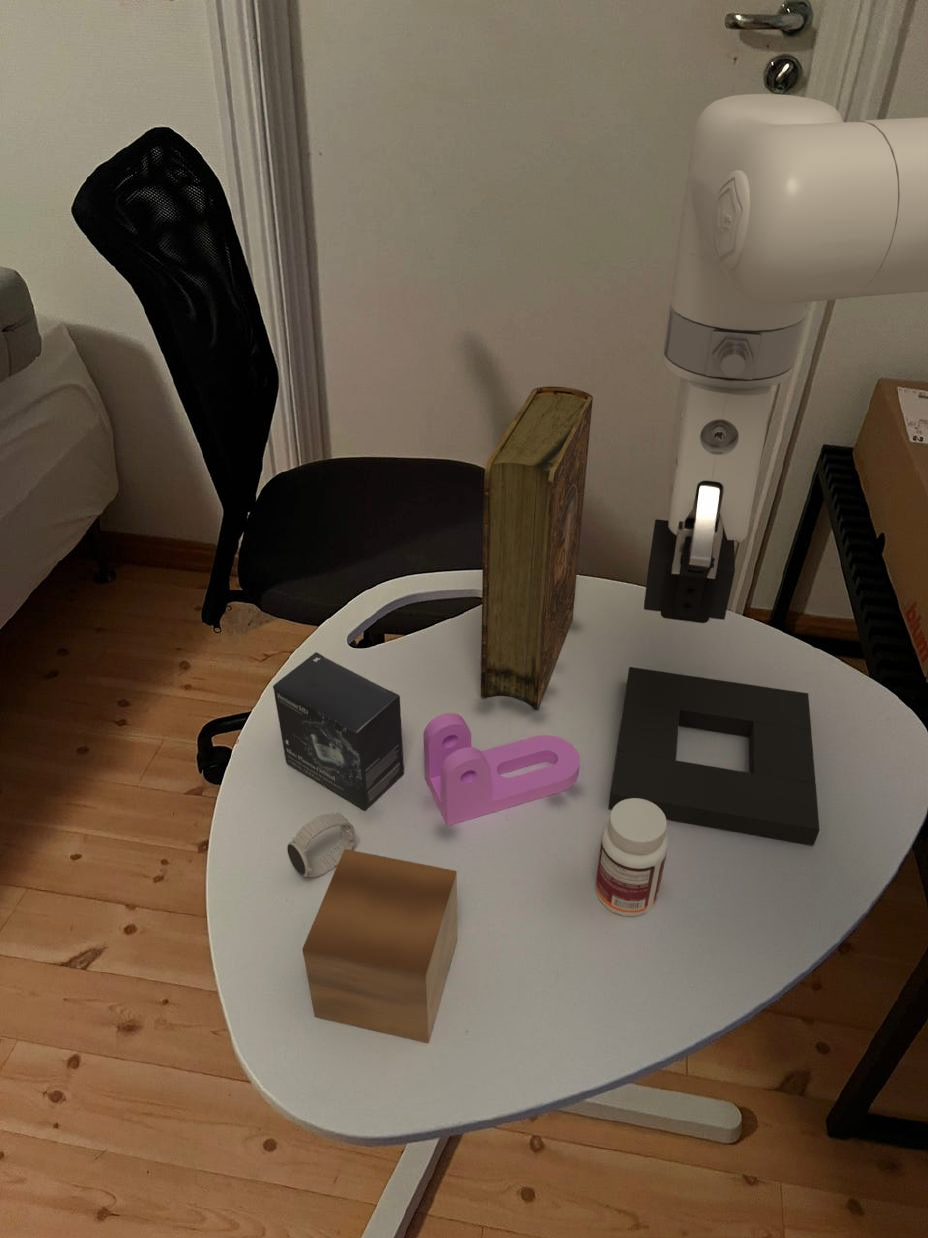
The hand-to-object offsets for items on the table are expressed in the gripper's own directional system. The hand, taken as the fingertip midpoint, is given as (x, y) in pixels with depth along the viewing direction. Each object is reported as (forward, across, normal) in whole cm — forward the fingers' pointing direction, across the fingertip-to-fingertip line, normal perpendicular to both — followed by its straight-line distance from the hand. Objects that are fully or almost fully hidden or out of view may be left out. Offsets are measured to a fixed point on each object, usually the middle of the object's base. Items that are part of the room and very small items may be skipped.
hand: (685, 589), depth 65 cm
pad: (0, 0, 0) cm, 0 cm away
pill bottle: (+22, -10, +1) cm, 24 cm away
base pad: (+22, +6, -5) cm, 23 cm away
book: (+22, +16, +13) cm, 30 cm away
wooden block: (+22, -20, +17) cm, 34 cm away
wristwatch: (+22, -12, +24) cm, 35 cm away
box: (+22, -2, +26) cm, 34 cm away
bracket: (+22, -1, +12) cm, 25 cm away
